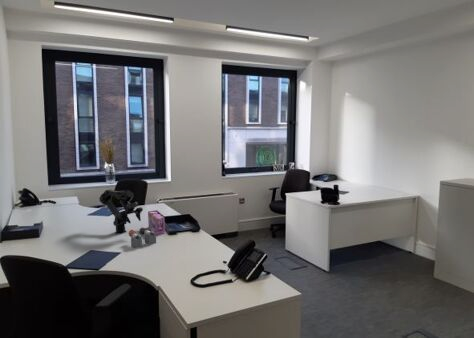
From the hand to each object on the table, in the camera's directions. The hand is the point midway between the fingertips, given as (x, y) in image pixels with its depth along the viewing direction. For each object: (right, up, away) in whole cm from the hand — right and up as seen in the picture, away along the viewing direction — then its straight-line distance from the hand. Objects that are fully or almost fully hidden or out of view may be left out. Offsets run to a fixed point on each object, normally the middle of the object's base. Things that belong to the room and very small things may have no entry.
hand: (135, 221), depth 272 cm
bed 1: (+6, -15, -18) cm, 24 cm away
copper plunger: (+3, -10, -14) cm, 17 cm away
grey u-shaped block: (+14, -14, -10) cm, 22 cm away
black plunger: (+10, -9, -8) cm, 15 cm away
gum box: (+11, -10, +21) cm, 25 cm away
